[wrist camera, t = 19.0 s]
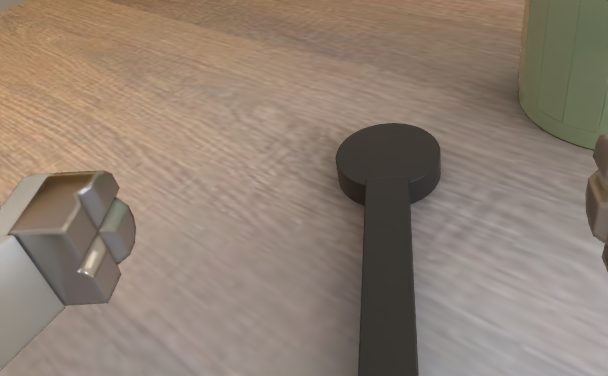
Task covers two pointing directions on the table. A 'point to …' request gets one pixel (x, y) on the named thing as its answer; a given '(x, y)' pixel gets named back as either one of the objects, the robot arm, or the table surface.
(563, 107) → the crock
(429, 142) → the serving spoon
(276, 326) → the table surface
